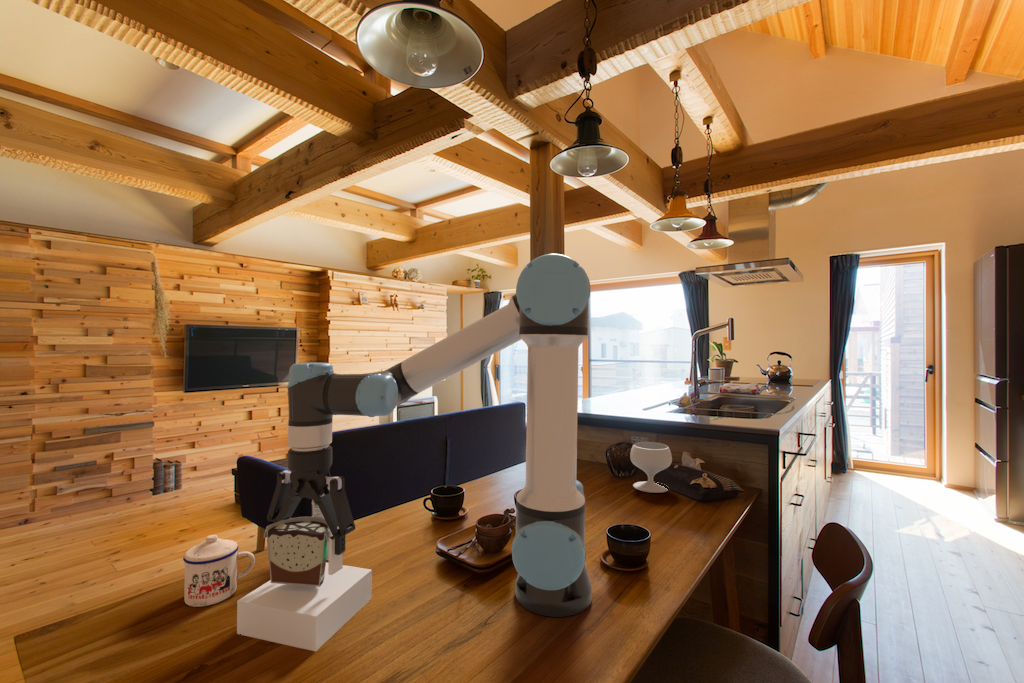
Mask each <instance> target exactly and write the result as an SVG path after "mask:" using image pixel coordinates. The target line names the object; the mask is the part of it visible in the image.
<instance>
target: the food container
mask: <svg viewBox="0 0 1024 683" xmlns="http://www.w3.org/2000/svg"><path fill="white" fill-rule="evenodd" d="M330 536H332V533H331V531H330V529H329V527H328V525H327V523H326V521H325V519H323V518H319V517H312V516H298V517H291V519H286V520H282V521H279V522H276V523H274V522H273V523H271V524H269V525H267V526H266V527H265V529H264V532H263V539H265V538H266V545H267V555H268V566H269V567H268V568H269V576H270V580H271V583H277V584H290V585H303V586H316V587H320V586H321V585H322V584H323V581H324V575H325V566H326V562H327V561H326V557H327V547H328V542H329V537H330Z"/></svg>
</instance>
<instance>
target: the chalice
mask: <svg viewBox="0 0 1024 683" xmlns="http://www.w3.org/2000/svg"><path fill="white" fill-rule="evenodd" d="M629 455H630V456H629V457H630V458H629V459H630V461H631V463H632V464H633V465H634V467H637V468H638V469H640V470H641V471H643V472H644V473H645V474H646V475H647V481H646V480H645V481H636V482H634V483H633V484H632V487H633V488H634V489H635V490H637V491H641V492H645V493H651V494H653V493H654V494H655V493H656V494H658V493H659V494H660V493H667V492H668V491H669V490H668V489H667V488H665V487H664V486H661V485H659V484H657V483H658V482H657V483H655V482H656V481H654V477H655V475H656V474H658V473H660V472H663V471H664V470H666V469H668V468H669V467H670V466H671V465H672V462H673V457H672V456H673V455H672V452H671V449H670V447H669V445H667V444H665V443H661V442H655V441H637V442H635V443H633V444H632V447H631V449H630V454H629Z"/></svg>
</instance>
